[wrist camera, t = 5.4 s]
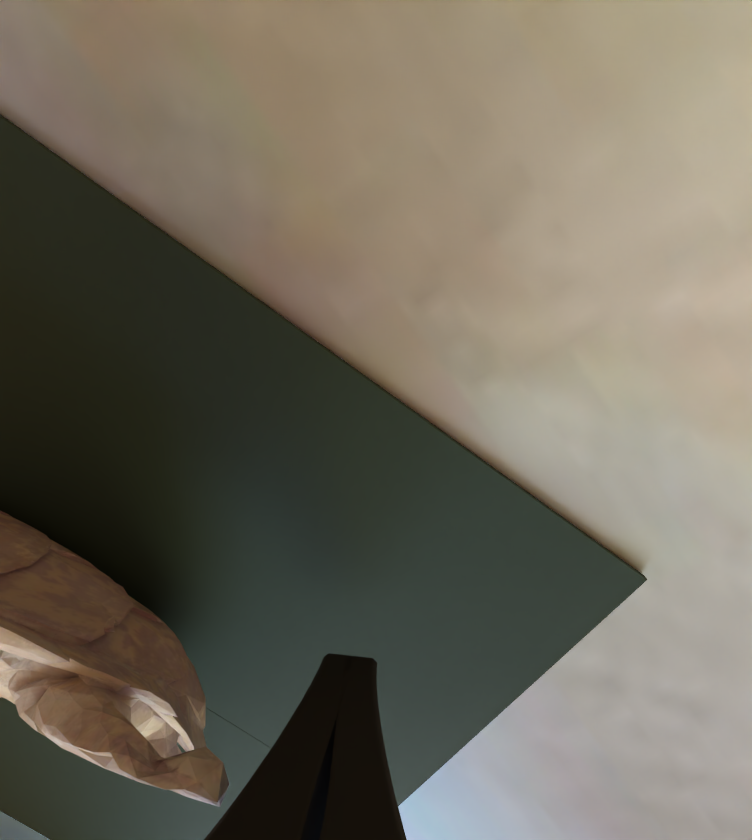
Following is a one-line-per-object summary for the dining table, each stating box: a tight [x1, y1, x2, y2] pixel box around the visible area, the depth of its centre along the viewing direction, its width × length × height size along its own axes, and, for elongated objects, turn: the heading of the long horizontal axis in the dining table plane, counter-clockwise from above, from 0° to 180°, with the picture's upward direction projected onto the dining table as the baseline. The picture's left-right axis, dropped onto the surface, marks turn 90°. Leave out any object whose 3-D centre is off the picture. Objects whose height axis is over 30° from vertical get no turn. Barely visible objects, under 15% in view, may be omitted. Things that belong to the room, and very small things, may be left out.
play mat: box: [0, 115, 647, 840], centre depth 13 cm, size 22×28×1 cm
